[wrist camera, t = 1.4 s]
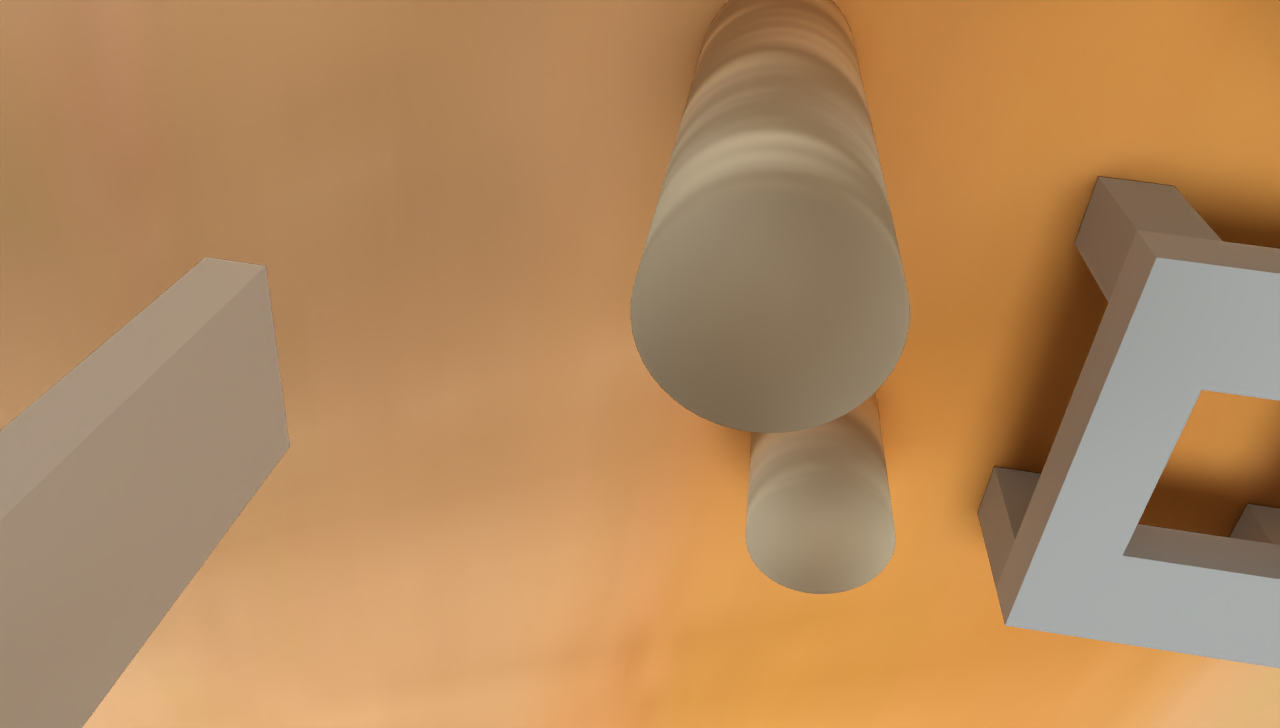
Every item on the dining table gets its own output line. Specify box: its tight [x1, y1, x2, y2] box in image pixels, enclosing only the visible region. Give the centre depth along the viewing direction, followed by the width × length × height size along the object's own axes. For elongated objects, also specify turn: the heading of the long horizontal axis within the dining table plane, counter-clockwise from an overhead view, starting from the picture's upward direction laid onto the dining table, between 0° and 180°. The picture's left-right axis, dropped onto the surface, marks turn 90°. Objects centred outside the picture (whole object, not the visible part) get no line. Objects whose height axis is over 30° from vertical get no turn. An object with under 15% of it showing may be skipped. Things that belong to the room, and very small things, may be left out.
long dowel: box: [631, 0, 910, 433], centre depth 20 cm, size 4×4×14 cm
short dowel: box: [746, 394, 896, 594], centre depth 29 cm, size 4×4×6 cm
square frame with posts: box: [978, 176, 1280, 668], centre depth 27 cm, size 10×12×5 cm
